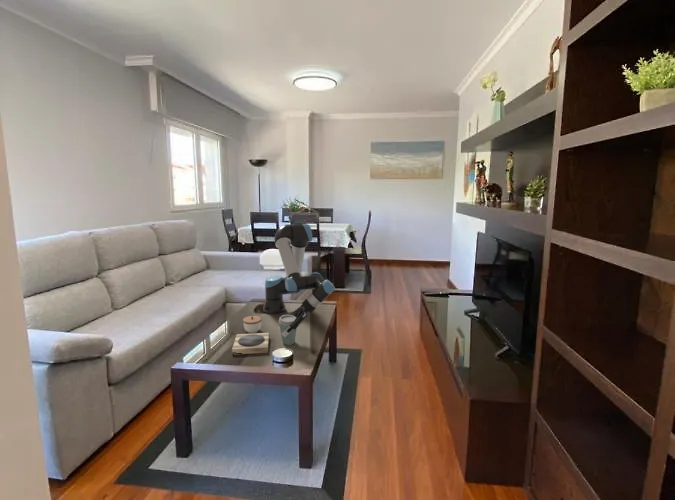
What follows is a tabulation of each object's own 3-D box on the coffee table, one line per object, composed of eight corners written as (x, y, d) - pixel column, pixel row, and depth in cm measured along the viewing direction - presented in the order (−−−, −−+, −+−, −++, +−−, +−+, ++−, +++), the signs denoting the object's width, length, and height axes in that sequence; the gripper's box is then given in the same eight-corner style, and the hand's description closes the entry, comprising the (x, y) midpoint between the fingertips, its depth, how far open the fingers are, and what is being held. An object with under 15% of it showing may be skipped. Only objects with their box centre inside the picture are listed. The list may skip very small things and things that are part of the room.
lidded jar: (265, 329, 217) (264, 314, 215) (255, 336, 207) (255, 321, 206) (249, 326, 221) (249, 312, 219) (239, 333, 211) (239, 318, 209)
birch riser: (236, 339, 203) (236, 333, 203) (269, 337, 206) (268, 332, 205) (232, 354, 186) (232, 348, 185) (267, 352, 188) (267, 346, 188)
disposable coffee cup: (301, 339, 203) (300, 315, 200) (293, 348, 193) (293, 322, 190) (283, 337, 206) (283, 312, 203) (275, 345, 196) (275, 320, 193)
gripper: (318, 315, 187) (288, 344, 188) (314, 300, 209) (287, 326, 210) (307, 306, 185) (277, 335, 186) (305, 292, 207) (278, 318, 208)
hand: (283, 331), depth 198 cm, fingers closed on disposable coffee cup, 11 cm apart
